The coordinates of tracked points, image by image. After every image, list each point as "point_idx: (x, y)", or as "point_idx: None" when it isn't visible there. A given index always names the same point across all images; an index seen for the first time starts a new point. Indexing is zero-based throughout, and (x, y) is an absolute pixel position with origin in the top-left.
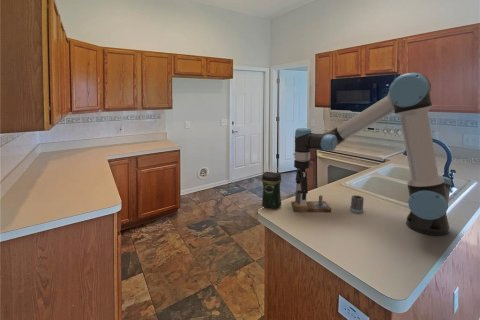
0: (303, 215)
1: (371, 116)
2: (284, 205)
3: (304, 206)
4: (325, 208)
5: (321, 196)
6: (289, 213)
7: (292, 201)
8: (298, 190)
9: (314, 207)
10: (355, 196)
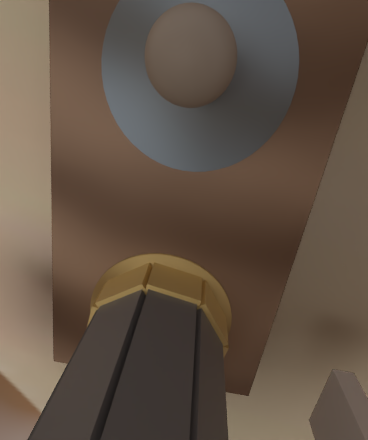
0: (341, 328)
1: None
2: None
3: (214, 298)
4: (344, 46)
5: (228, 49)
6: (263, 407)
7: (55, 353)
8: None
9: (261, 194)
10: None
